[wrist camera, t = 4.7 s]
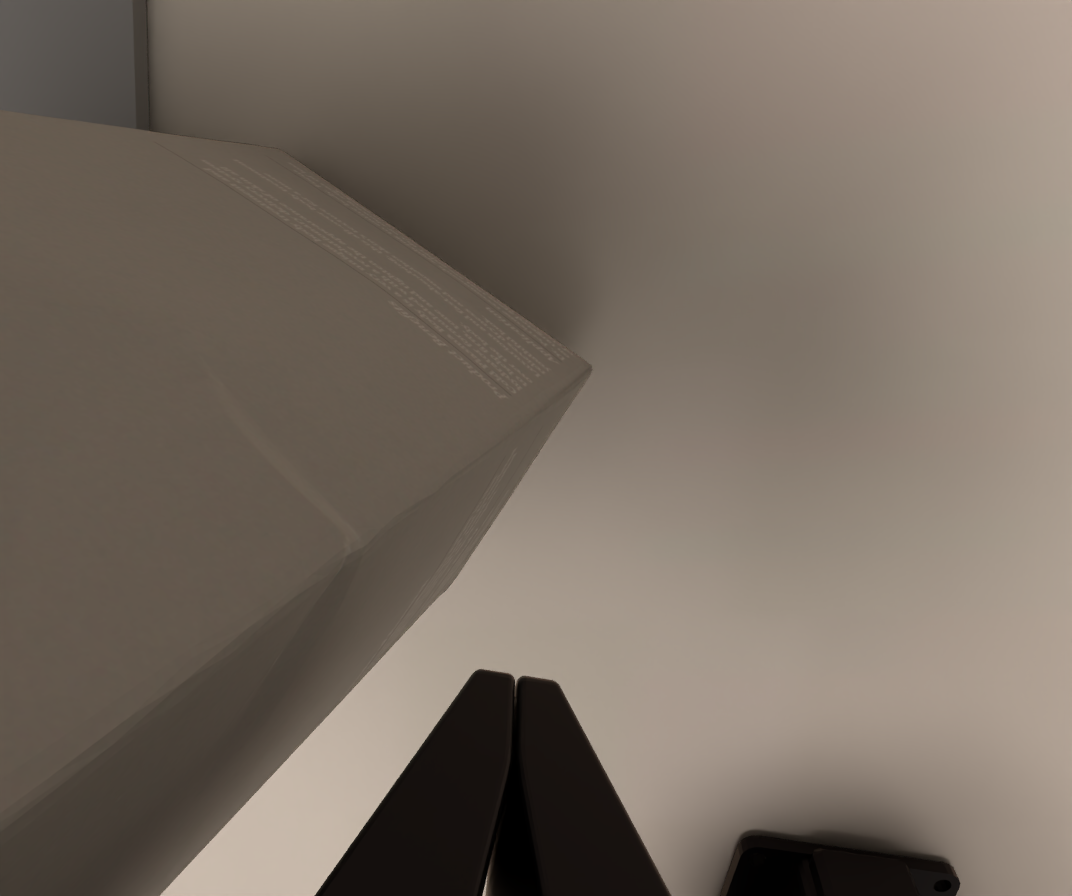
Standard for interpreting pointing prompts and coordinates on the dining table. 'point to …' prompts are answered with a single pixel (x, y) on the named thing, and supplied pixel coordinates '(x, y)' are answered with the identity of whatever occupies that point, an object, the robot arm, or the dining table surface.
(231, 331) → the skincare box
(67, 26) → the mat
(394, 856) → the robot arm
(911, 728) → the dining table surface
